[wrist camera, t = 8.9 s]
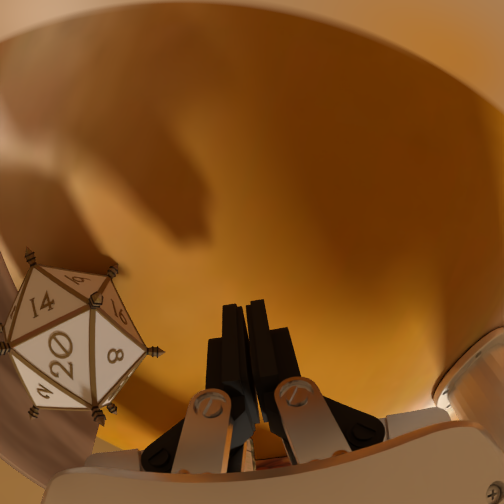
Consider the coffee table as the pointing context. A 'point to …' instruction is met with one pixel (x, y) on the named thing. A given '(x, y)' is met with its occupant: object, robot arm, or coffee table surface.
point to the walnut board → (37, 419)
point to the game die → (71, 340)
